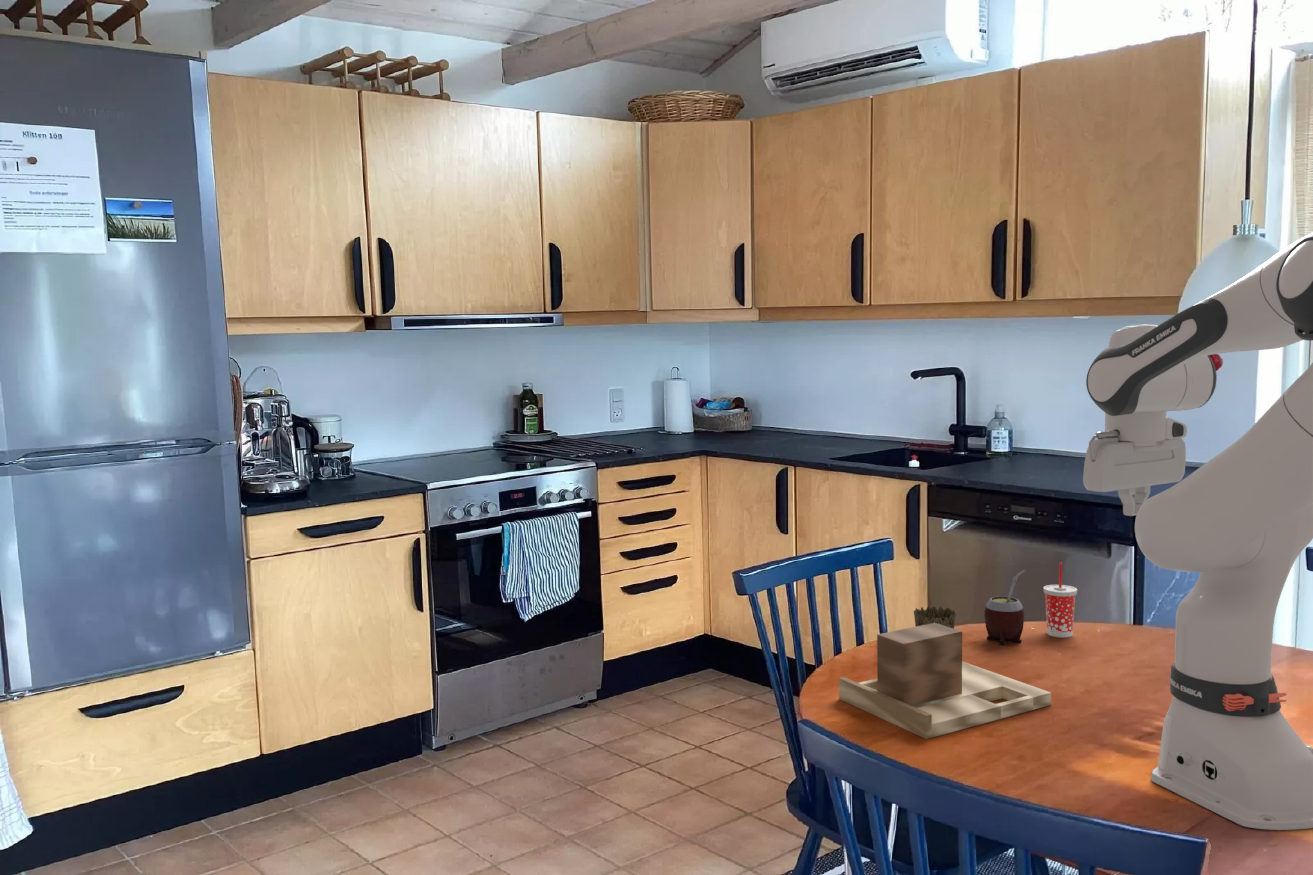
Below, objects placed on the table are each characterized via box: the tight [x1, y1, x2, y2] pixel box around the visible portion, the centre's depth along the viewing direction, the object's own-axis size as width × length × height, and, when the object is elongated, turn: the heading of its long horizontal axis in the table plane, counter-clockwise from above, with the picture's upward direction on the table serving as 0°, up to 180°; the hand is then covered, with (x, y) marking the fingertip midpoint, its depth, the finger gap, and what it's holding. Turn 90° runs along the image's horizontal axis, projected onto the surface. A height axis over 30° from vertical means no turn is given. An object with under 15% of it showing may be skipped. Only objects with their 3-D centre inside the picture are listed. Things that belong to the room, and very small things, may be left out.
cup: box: [913, 605, 957, 629], centre depth 194 cm, size 8×7×8 cm
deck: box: [838, 660, 1052, 740], centre depth 169 cm, size 26×20×4 cm
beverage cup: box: [1043, 562, 1078, 639], centre depth 204 cm, size 6×6×14 cm
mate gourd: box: [984, 568, 1026, 646], centre depth 200 cm, size 8×8×15 cm
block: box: [876, 623, 963, 706], centre depth 167 cm, size 12×6×10 cm, turn 119°
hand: (1133, 514), depth 169 cm, fingers closed
